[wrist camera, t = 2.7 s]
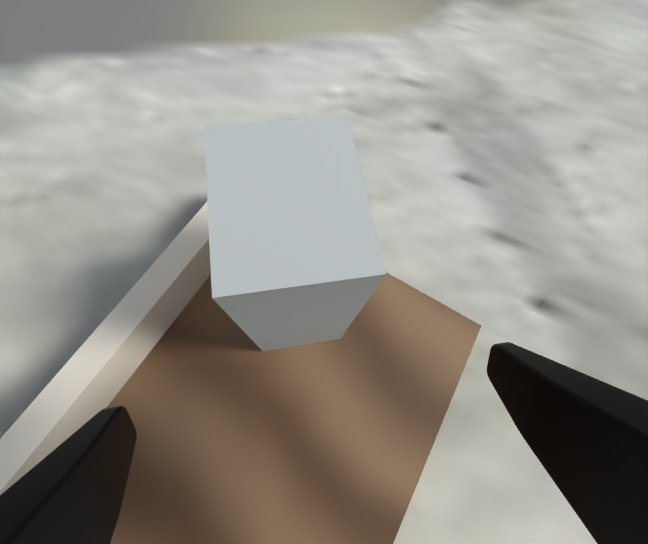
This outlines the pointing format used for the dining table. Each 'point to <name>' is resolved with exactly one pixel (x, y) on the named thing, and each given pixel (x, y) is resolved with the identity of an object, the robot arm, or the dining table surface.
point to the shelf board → (288, 425)
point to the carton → (289, 229)
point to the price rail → (109, 352)
